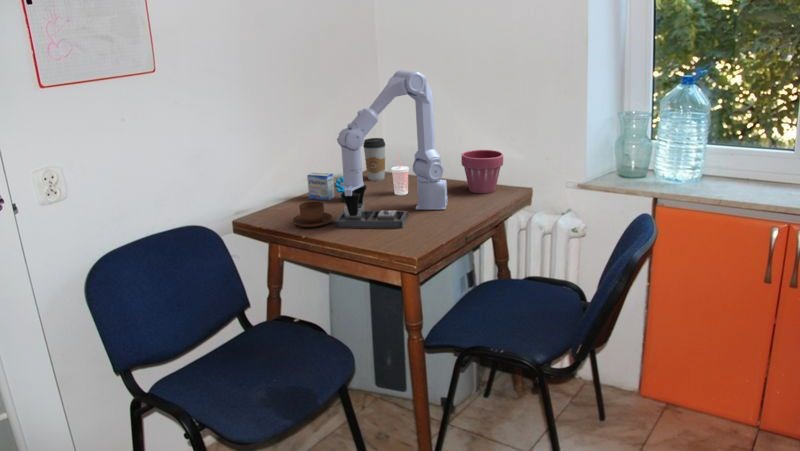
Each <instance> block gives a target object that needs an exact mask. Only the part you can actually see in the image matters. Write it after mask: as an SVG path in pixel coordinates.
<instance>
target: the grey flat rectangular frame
mask: <svg viewBox="0 0 800 451" xmlns="http://www.w3.org/2000/svg"><path fill="white" fill-rule="evenodd" d="M380 211H381V210H365V219H367V220H365V221H361V220H345V212H344V210H343V211H342V212H341V213H340V214H339V215H338V216H337V218H336V219H335V220H334V227H335V228H336V229H337V228H338V229H339V228H346V229H347V228H349V229H350V228H353V229H354V228H355V229H357V228H358V229H359V228H362V229H364V228H366V229H372V228H373V229H374V228H375V229H377V228H378V229H384V228H385V229H403V227H404V225H405V224H406V221H407V220H408V218H409V214H408V213H409V211H408V210H397V219H399V220H397V221H378V220H376V219H378V214H379V212H380Z"/></svg>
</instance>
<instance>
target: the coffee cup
mask: <svg viewBox="0 0 800 451" xmlns="http://www.w3.org/2000/svg"><path fill="white" fill-rule="evenodd" d="M362 147H363V151H364V161H365V168H366V173H367V179H368V181H372V182H376V181H377V182H379V181H383V180H385V176H386V155H385V154H386V142H385V139H384V138H383V137H382V138H381V137H371V138H366V139H364V143H363V145H362Z"/></svg>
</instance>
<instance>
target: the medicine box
mask: <svg viewBox="0 0 800 451" xmlns="http://www.w3.org/2000/svg"><path fill="white" fill-rule="evenodd" d="M307 187H308V199H310V200H316V201H320V200H321V201H330V200H333V199H334V198H335V184H334V173H327V172H326V173H325V172H311V173H308V174H307Z"/></svg>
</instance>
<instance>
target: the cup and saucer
mask: <svg viewBox="0 0 800 451" xmlns="http://www.w3.org/2000/svg"><path fill="white" fill-rule="evenodd" d="M324 206H325V205H324V202H322V201H318V200H316V201H315V200H314V201H306V202H303V203H300V204H299V215H298V214H297V215H296V216H294V218H293V219H292V222H293V223H294V224H295V225H297V226H298V227H303V228H316V227H321V226H324V225H326V224H328V223H330V222H331V221H332V220H333V215H332V214H331V213H327V212H325V207H324Z"/></svg>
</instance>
